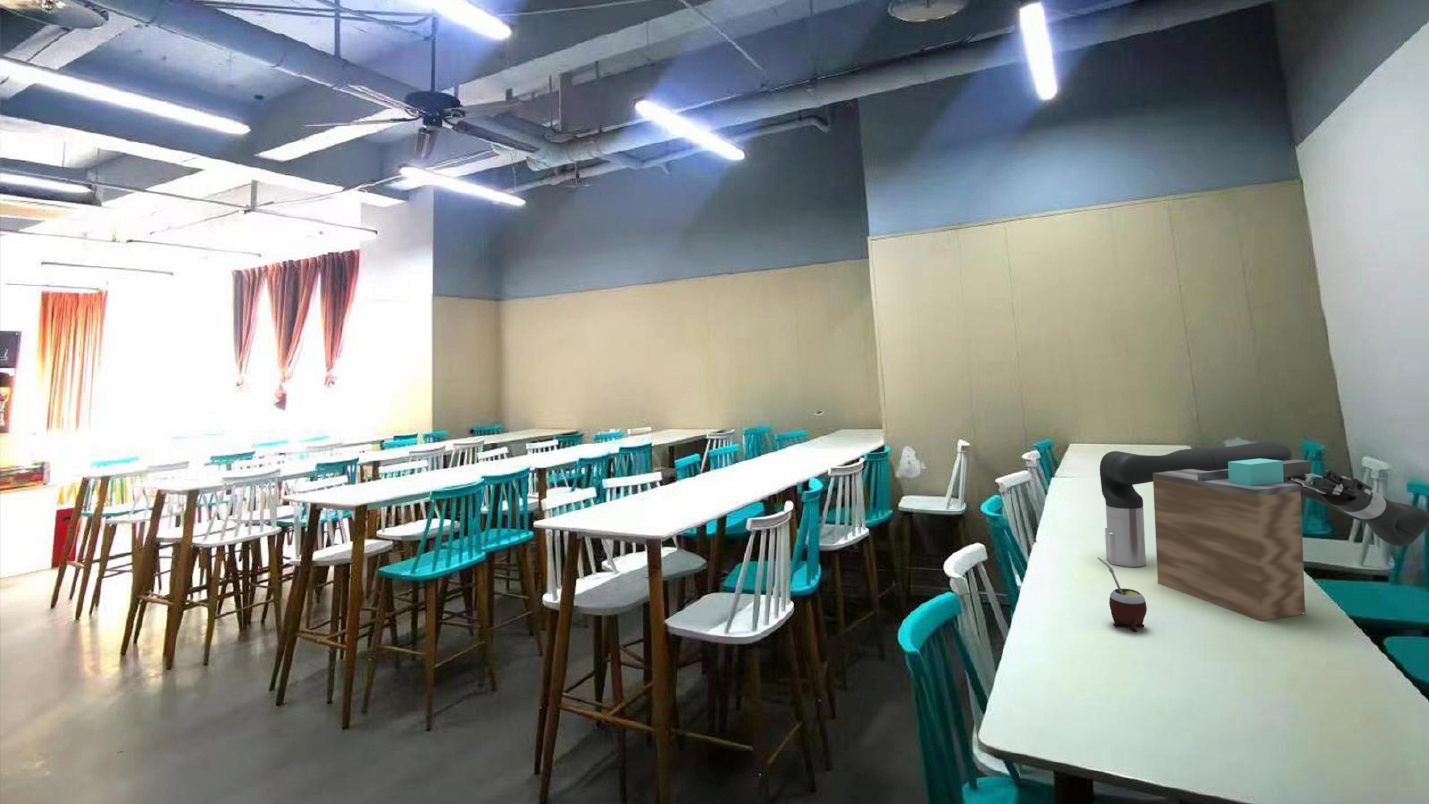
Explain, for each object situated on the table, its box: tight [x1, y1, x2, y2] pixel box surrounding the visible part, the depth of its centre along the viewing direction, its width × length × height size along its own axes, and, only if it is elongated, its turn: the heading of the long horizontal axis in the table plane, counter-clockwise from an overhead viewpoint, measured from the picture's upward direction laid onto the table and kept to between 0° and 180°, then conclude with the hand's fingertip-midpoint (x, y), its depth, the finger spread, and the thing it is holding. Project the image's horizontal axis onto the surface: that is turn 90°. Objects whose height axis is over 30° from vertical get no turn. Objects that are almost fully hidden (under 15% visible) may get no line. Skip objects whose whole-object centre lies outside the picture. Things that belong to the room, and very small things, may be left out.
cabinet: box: [1152, 469, 1306, 622], centre depth 146 cm, size 13×26×32 cm, turn 8°
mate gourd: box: [1097, 557, 1148, 633], centre depth 135 cm, size 8×8×15 cm
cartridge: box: [1228, 458, 1312, 486], centre depth 139 cm, size 18×5×5 cm, turn 98°
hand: (1304, 471), depth 141 cm, fingers open, 8 cm apart
